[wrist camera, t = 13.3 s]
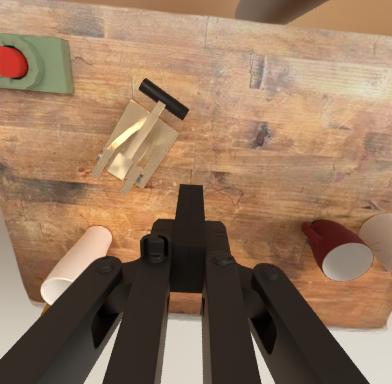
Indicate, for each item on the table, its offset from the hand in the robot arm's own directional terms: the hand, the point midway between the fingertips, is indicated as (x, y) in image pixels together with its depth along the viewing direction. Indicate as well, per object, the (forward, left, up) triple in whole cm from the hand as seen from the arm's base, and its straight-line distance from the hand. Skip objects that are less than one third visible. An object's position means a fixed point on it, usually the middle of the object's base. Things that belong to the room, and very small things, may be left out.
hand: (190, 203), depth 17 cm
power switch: (+9, +4, -27) cm, 29 cm away
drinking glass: (+17, +23, -27) cm, 39 cm away
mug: (-25, +17, -27) cm, 40 cm away
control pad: (+25, -7, -27) cm, 37 cm away
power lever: (+7, 0, -19) cm, 21 cm away
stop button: (+25, -7, -23) cm, 35 cm away
